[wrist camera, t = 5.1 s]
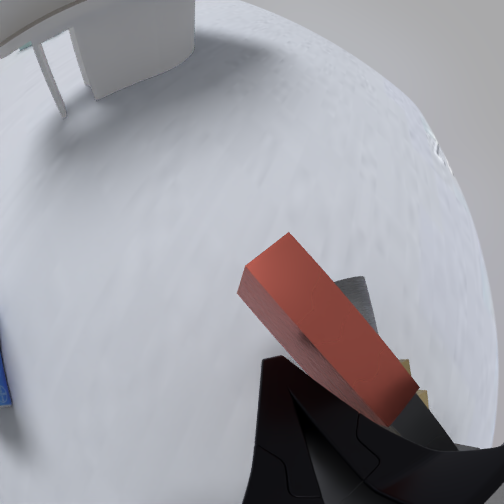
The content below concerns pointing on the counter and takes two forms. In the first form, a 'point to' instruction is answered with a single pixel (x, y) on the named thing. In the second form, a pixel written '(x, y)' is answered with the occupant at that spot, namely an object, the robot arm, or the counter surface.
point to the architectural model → (103, 37)
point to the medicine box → (4, 387)
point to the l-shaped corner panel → (26, 45)
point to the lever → (336, 342)
